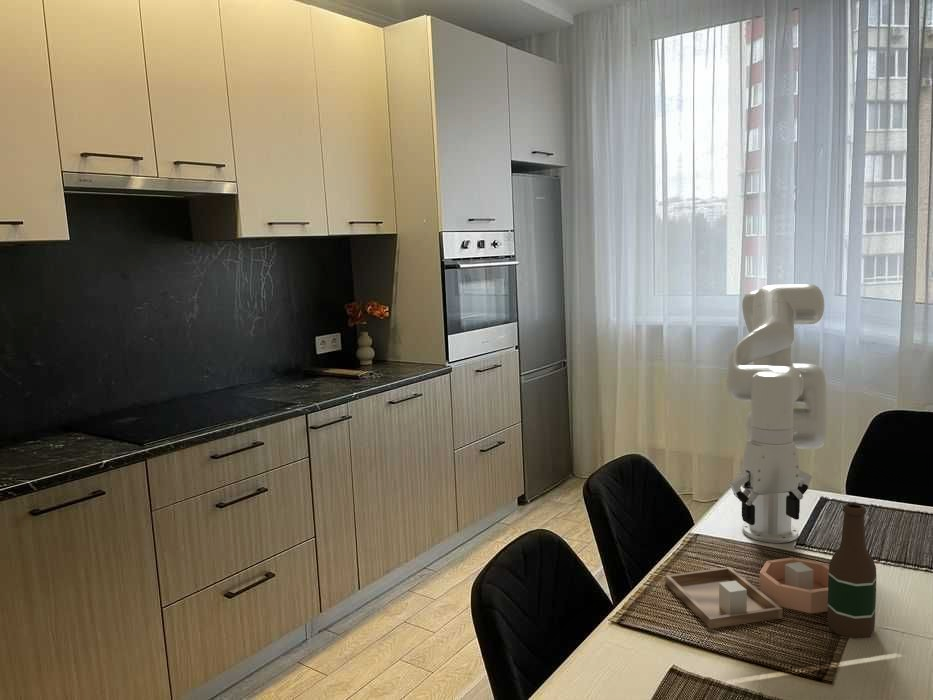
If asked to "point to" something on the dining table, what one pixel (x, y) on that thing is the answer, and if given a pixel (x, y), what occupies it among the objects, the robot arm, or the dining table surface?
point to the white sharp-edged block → (732, 597)
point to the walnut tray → (704, 597)
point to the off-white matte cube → (799, 575)
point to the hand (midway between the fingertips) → (770, 520)
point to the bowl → (794, 596)
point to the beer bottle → (852, 580)
